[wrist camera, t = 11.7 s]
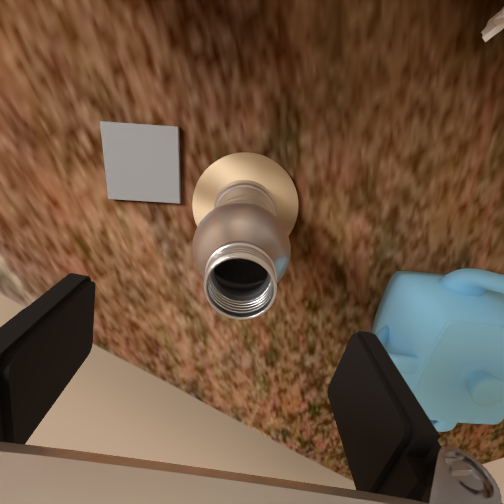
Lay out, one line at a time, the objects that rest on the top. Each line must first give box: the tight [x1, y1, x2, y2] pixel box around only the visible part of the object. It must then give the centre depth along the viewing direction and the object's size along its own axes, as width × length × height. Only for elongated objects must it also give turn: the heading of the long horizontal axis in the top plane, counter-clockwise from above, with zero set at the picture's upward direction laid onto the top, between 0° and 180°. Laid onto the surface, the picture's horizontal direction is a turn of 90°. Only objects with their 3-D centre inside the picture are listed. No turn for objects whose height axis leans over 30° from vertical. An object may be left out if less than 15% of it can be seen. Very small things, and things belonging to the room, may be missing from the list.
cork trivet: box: [193, 152, 298, 236], centre depth 34 cm, size 12×12×1 cm
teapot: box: [371, 268, 504, 432], centre depth 33 cm, size 18×16×14 cm
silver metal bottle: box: [193, 180, 291, 320], centre depth 24 cm, size 6×7×20 cm
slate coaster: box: [100, 121, 181, 203], centre depth 32 cm, size 8×8×1 cm
